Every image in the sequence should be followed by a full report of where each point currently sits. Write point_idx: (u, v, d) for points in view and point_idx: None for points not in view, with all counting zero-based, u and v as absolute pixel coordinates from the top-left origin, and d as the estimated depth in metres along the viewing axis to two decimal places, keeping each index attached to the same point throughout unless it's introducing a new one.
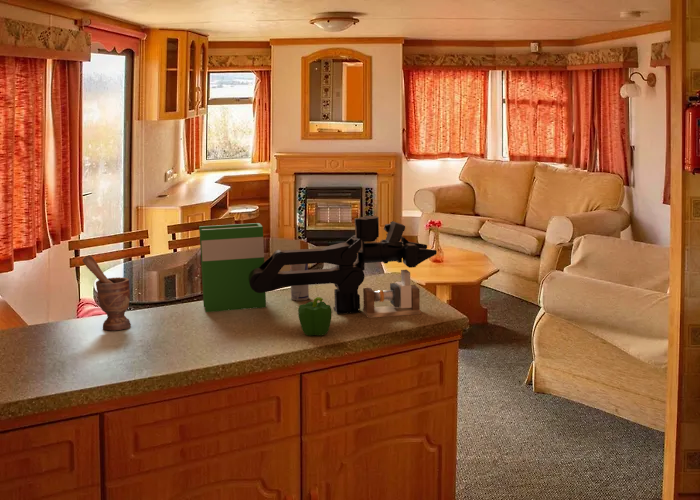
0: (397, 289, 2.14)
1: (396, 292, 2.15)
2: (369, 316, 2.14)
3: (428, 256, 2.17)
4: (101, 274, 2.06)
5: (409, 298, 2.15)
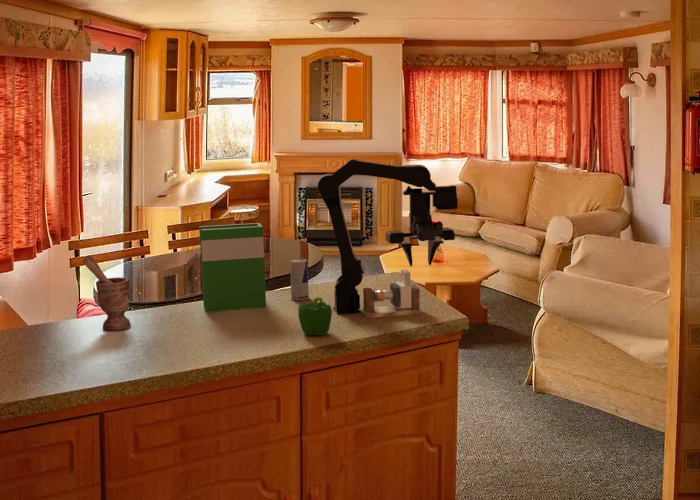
0: (397, 289, 2.14)
1: (396, 292, 2.15)
2: (369, 316, 2.14)
3: (406, 256, 2.17)
4: (101, 274, 2.06)
5: (409, 298, 2.15)
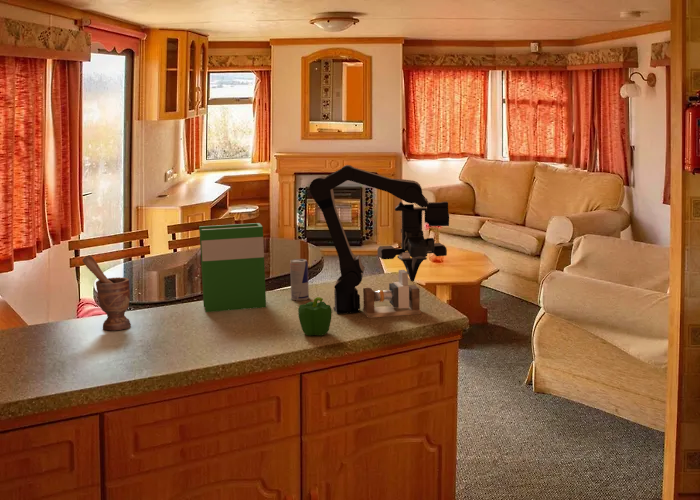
0: (396, 289, 2.14)
1: (395, 292, 2.15)
2: (369, 316, 2.14)
3: (407, 271, 2.18)
4: (101, 274, 2.06)
5: (407, 298, 2.15)
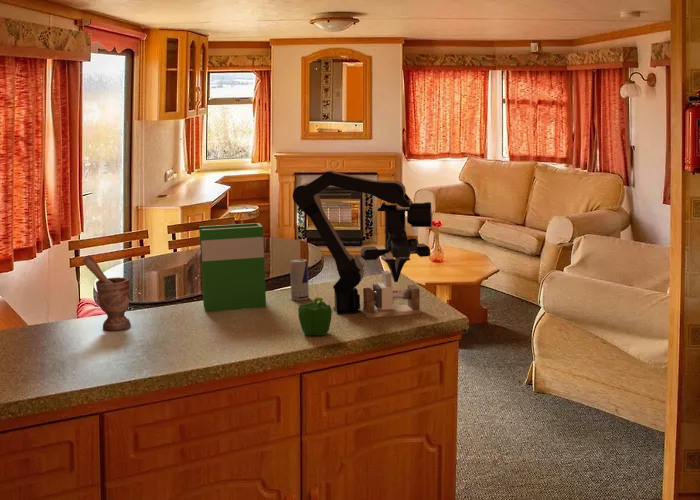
0: (379, 290, 2.14)
1: (378, 293, 2.14)
2: (369, 316, 2.14)
3: (391, 272, 2.17)
4: (101, 274, 2.06)
5: (390, 299, 2.14)
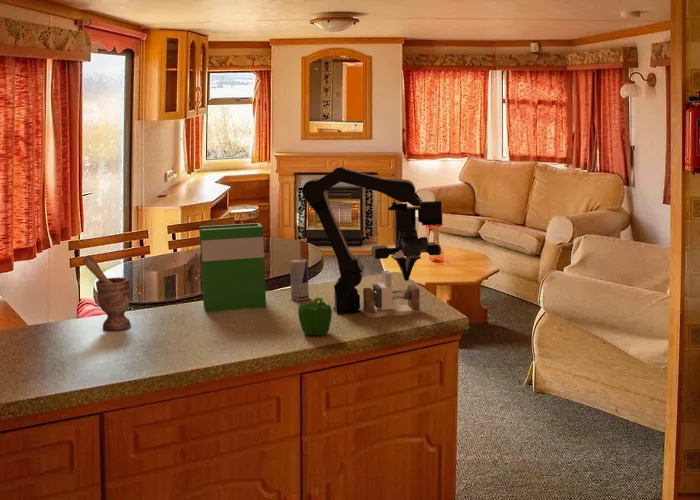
0: (379, 290, 2.14)
1: (378, 293, 2.14)
2: (369, 316, 2.14)
3: (401, 270, 2.17)
4: (101, 274, 2.06)
5: (390, 299, 2.14)
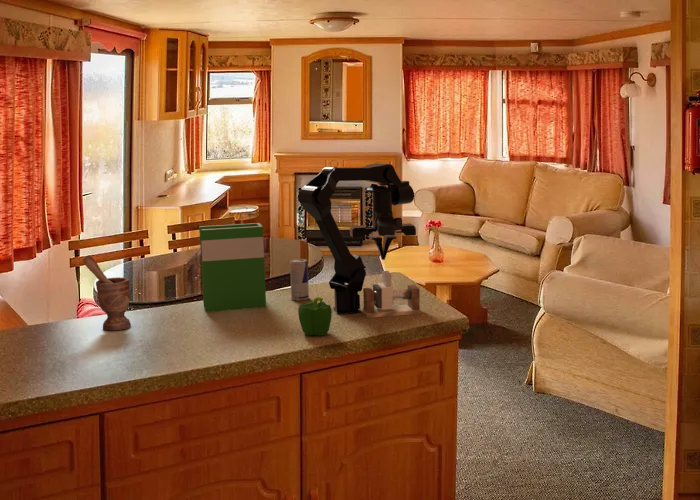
0: (379, 290, 2.14)
1: (378, 293, 2.14)
2: (369, 316, 2.14)
3: None
4: (101, 274, 2.06)
5: (390, 299, 2.14)
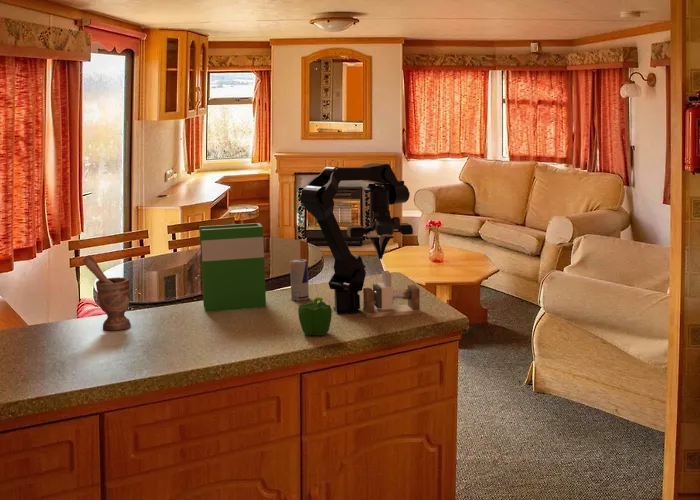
0: (379, 290, 2.14)
1: (378, 293, 2.14)
2: (369, 316, 2.14)
3: (375, 249, 2.29)
4: (101, 274, 2.06)
5: (390, 299, 2.14)
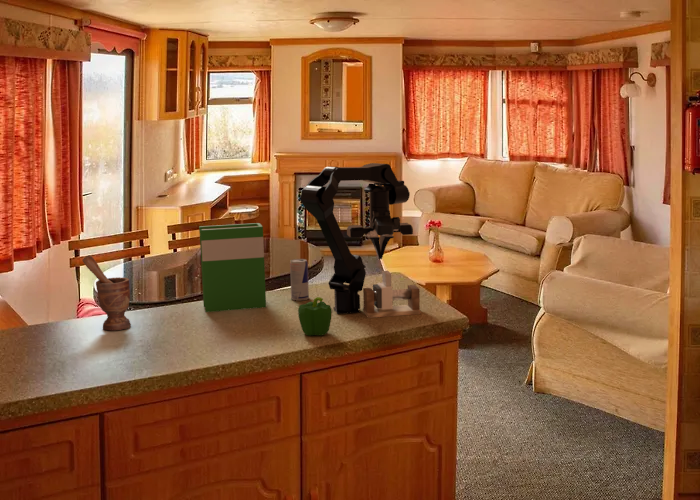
0: (379, 290, 2.14)
1: (378, 293, 2.14)
2: (369, 316, 2.14)
3: (375, 249, 2.29)
4: (101, 274, 2.06)
5: (390, 299, 2.14)
